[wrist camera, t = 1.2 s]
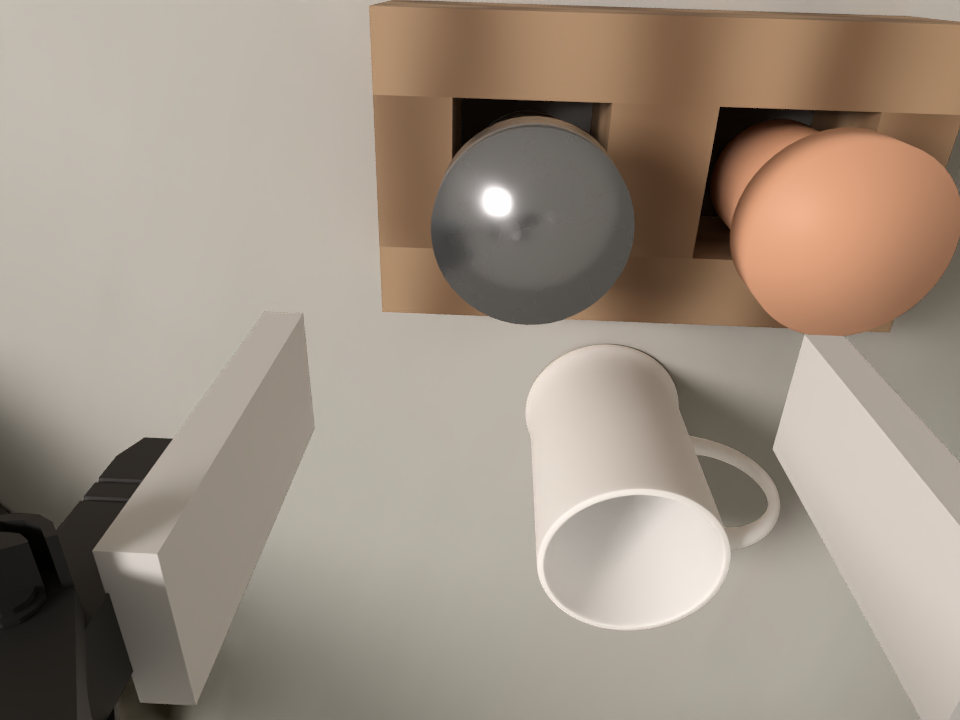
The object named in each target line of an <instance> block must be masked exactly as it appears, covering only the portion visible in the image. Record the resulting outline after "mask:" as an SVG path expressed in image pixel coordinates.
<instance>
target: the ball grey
mask: <svg viewBox="0 0 960 720" xmlns="http://www.w3.org/2000/svg"><path fill="white" fill-rule="evenodd" d="M634 227H635V221H634V210H633V205H632V200H631V197H630V194H629V191H628V189H627V186H626V184H625V182H624V180H623V178H622V177H621V175H620V173H619V171H618V169H617V167H616V165H615V164H614V162H613V160H612V158H611V157H610V156H609V154H608V153H607V151H606V150H605V149H604V148H603V147H602V146H601V145H600V144H599V143H598V142H597V140H595V139H594V138H593V137H592V136H590V135H589V134H588V133H586V132H585V131H583V130H582V129H580V128H578V127H576V126H574V125H572V124H570V123H567V122H564V121H562V120H560V119H558V118H556V117H554V116H553V115H550V114H548V113H545V112H540V111H534V110H522V111H516V112H512V113H509V114H506V115H504V116H502V117H500V118H498V119H497V120H495V121H494V122H492V123H491V124H490V125H489V126H488V127H487V128H486V129H484V130H483V131H481V132H479V133H478V134H476V135H475V136H474V137H472V138H471V139H470V140H469V141H468V142H467V143H465V144H464V146H463V147H462V148H461V149H460V150H459V151H458V152H457V153H456V155H455V156H454V158H453V159H452V161H451V162H450V164H449V165H448V167H447V169H446V171H445V173H444V176H443V178H442V181H441V184H440V187H439V190H438V193H437V196H436V199H435V202H434V207H433V212H432V217H431V240H432V246H433V251H434V255H435V258H436V261H437V263H438V266H439V268H440V270H441V272H442V274H443V276H444V278H445V279H446V281H447V282H448V283H449V285H450V286H451V288H452V289H453V290H454V291H455V292H456V293H457V294H458V295H459V296H460V297H461V298H462V299H463V300H464V301H465V302H467V303H468V304H469V305H470V306H472V307H473V308H475V309H476V310H478V311H480V312H482V313H484V314H486V315H488V316H490V317H493V318H495V319H498V320H501V321H505V322H510V323H515V324H525V325H533V324H545V323H552V322H556V321H559V320H563V319H566V318H568V317H571V316H574V315H576V314H578V313H579V312H581V311H583V310H585V309H587V308H588V307H590V306H591V305H592V304H594V303H595V302H597V301H598V300H599V299H600V298H601V297H602V296H603V295H605V294H606V293H607V291H608V290H609V289H610V288H611V287H612V286H613V285H614V283H615V282H616V280H617V279H618V277H619V276H620V274H621V273H622V271H623V269H624V267H625V265H626V263H627V260H628V258H629V255H630V252H631V248H632V244H633V239H634Z"/></svg>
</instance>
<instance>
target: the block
mask: <svg viewBox="0 0 960 720" xmlns="http://www.w3.org/2000/svg"><path fill="white" fill-rule="evenodd" d="M369 13H370V36H371V59H372V82H373V105H374V128H375V152H376V175H377V198H378V221H379V244H380V267H381V290H382V312H402V313H426V314H451V315H476V316H488V315H486V314H484V313H482V312H480V311H478V310H476V309H475V308H473V307H472V306H470V305H469V304H468V303H467V302H465V301H464V300H463V299H462V298H461V297H460V296H459V295H458V294H457V293H456V292H455V291H454V290H453V289H452V288H451V286H450V285H449V283H448V282H447V281H446V279H445V278H444V276H443V274H442V272H441V270H440V268H439V266H438V263H437V261H436V258H435V255H434V251H433V246H432V240H431V217H432V212H433V207H434V202H435V199H436V196H437V193H438V190H439V187H440V184H441V181H442V178H443V176H444V173H445V171H446V169H447V167H448V165H449V164H450V162H451V161H452V159H453V158H454V156H455V155H456V153H457V152H458V151H459V150H460V149H461V111H462V98H482V99H511V100H540V101H569V102H593V111H592V121H591V132H590V136H592V137H593V138H594V139H595V140H597V142H598V143H599V144H600V145H601V146H602V147H603V148H604V149H605V150H606V151H607V153H608V154H609V156H610V157H611V158H612V160H613V162H614V164H615V165H616V167H617V169H618V171H619V173H620V175H621V177H622V178H623V180H624V182H625V184H626V186H627V189H628V191H629V194H630V197H631V200H632V205H633V210H634V221H635V227H634V239H633V244H632V248H631V252H630V255H629V258H628V260H627V263H626V265H625V267H624V269H623V271H622V273H621V274H620V276H619V277H618V279H617V280H616V282H615V283H614V285H613V286H612V287H611V288H610V289H609V290H608V291H607V293H606V294H605V295H603V296H602V297H601V298H600V299H599V300H598V301H597V302H595V303H594V304H592V305H591V306H590V307H588V308H587V309H585V310H583V311H581V312H579V313H578V314H576V315H574V316H571V317H568V318H566V319H574V320H599V321H624V322H649V323H673V324H698V325H723V326H747V327H772V328H788V327H786V326H784V325H782V324H780V323H779V322H778V321H776V320H775V319H774V318H772V317H771V316H770V315H769V314H768V313H767V312H766V311H765V310H764V309H763V307H762V306H761V305H760V303H759V302H758V301H757V299H756V298H755V297H754V296H753V294H752V293H751V292H750V290H749V289H748V288H747V286H746V285H745V283H744V282H743V281H742V279H741V278H740V276H739V274H738V272H737V270H736V268H735V266H734V262H733V259H732V255H731V249H730V229H729V228H728V226H727V225H726V224H725V223H724V222H723V220H722V219H721V218H720V217H707V216H700V213H701V208H702V202H703V197H704V191H705V186H706V180H707V175H708V169H709V164H710V158H711V153H712V147H713V142H714V136H715V131H716V125H717V120H718V114H719V109H720V107H743V108H772V109H801V110H815V112H814V116H813V120H812V125H811V128H813V129H815V130H817V131H819V132H821V131H824V130H829V129H835V128H846V127H856V128H866V129H870V130H874V131H878V132H881V133H883V134H886V135H888V136H890V137H893V138H895V139H897V140H900V141H902V142H904V143H907V144H909V145H911V146H913V147H916V148H918V149H920V150H923V151H924V152H926V153H927V154H929V155H931V156H932V157H934V158H935V159H936V160H937V161H938V162H939V163H940V164H941V165H943V167H944V168H945V169H946V166H947V163H948V160H949V157H950V154H951V151H952V148H953V146H954V143H955V140H956V137H957V134H958V131H959V128H960V22H955V21H947V20H938V19H929V18H920V17H911V16H883V15H851V14H820V13H788V12H757V11H725V10H694V9H663V8H631V7H600V6H568V5H537V4H506V3H474V2H443V1H411V0H391V1H387V2H383V3H379V4H375V5H371V6H369ZM893 321H894V319H893V320H892V321H890V322H888V323H885V324H883V325H881V326H879V327H877V328H874V329H871V330H868V331H871V332H890V330H891V327H892V324H893Z"/></svg>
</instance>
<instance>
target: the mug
mask: <svg viewBox="0 0 960 720" xmlns="http://www.w3.org/2000/svg"><path fill="white" fill-rule="evenodd" d="M526 422H527V427H528V430H529V433H530V435H531V445H532V466H533V488H534V511H535V533H536V555H537V569H538V575H539V579H540V582H541V584H542V586H543V588H544V590H545V592H546V594H547V595H548V596H549V598H550V599H551V600H552V601H553V602H554V603H555V604H556V605H557V606H558V607H559V608H560V609H561V610H563V611H564V612H565V613H567V614H569V615H570V616H572V617H574V618H576V619H578V620H580V621H582V622H585V623H587V624H590V625H593V626H597V627H601V628H607V629H614V630H642V629H649V628H654V627H659V626H663V625H666V624H669V623H672V622H675V621H677V620H680V619H682V618H684V617H686V616H688V615H690V614H691V613H693V612H695V611H696V610H698V609H699V608H701V607H702V606H703V605H704V604H706V603H707V602H708V601H709V600H710V599H711V598H712V597H713V596H714V595H715V594H716V592H717V591H718V590H719V588H720V587H721V585H722V584H723V582H724V580H725V578H726V575H727V573H728V570H729V566H730V559H731V551H733V550H737V549H741V548H744V547H747V546H750V545H752V544H754V543H756V542H758V541H760V540H761V539H763V538H764V537H765V536H766V535H768V534H769V533H770V531H771V530H772V529H773V527H774V526H775V524H776V522H777V520H778V516H779V512H780V498H779V494H778V491H777V488H776V486H775V484H774V482H773V481H772V479H771V478H770V476H769V475H768V474H767V473H766V472H765V471H764V469H763V468H761V467H760V466H759V465H758V464H757V463H756V462H754V461H753V460H752V459H750V458H749V457H747V456H746V455H744V454H742V453H741V452H739V451H737V450H735V449H733V448H731V447H728V446H726V445H723V444H721V443H718V442H715V441H711V440H708V439H704V438H699V437H694V436H690V435H689V434H688V432H687V429H686V426H685V424H684V421H683V419H682V416H681V413H680V410H679V400H678V394H677V390H676V387H675V385H674V383H673V381H672V379H671V377H670V375H669V374H668V373H667V371H666V370H665V369H664V368H663V367H662V366H661V365H660V364H659V363H658V362H657V361H656V360H654V359H653V358H652V357H650V356H648V355H647V354H645V353H643V352H641V351H638V350H636V349H633V348H630V347H626V346H620V345H611V344H602V345H592V346H587V347H583V348H579V349H576V350H573V351H571V352H569V353H567V354H565V355H563V356H561V357H559V358H558V359H556V360H555V361H553V362H552V363H551V364H550V365H548V366H547V367H546V368H545V369H544V370H543V371H542V372H541V374H540V375H539V376H538V377H537V379H536V380H535V382H534V384H533V386H532V388H531V390H530V392H529V395H528V399H527V403H526ZM697 455H702V456H707V457H711V458H715V459H718V460H721V461H724V462H726V463H728V464H731V465H733V466H735V467H737V468H738V469H740V470H742V471H743V472H745V473H746V474H748V475H749V476H750V477H751V478H752V479H754V480H755V481H756V482H757V483H758V484H759V486H760V487H761V488H762V490H763V491H764V493H765V495H766V497H767V501H768V507H767V510H766V512H765V513H764V514H763V515H762V516H761V517H760V518H759V519H757V520H756V521H754V522H752V523H749V524H747V525H743V526H739V527H724V525H723V523H722V520H721V517H720V515H719V512H718V510H717V507H716V504H715V502H714V499H713V497H712V494H711V491H710V489H709V486H708V484H707V481H706V478H705V476H704V473H703V471H702V468H701V465H700V463H699V460H698V458H697Z"/></svg>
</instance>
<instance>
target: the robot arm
mask: <svg viewBox="0 0 960 720" xmlns="http://www.w3.org/2000/svg"><path fill="white" fill-rule="evenodd" d="M314 429H315V427H314V417H313V407H312V397H311V387H310V377H309V367H308V357H307V347H306V337H305V327H304V317H303V313H288V312H264V313H263V315H262V316H261V317H260V319H259V320H258V322H257V323H256V324H255V326H254V327H253V329H252V330H251V331H250V333H249V334H248V336H247V337H246V338H245V340H244V341H243V342H242V344H241V345H240V347H239V348H238V349H237V351H236V352H235V354H234V355H233V356H232V358H231V359H230V360H229V362H228V363H227V365H226V366H225V367H224V369H223V370H222V372H221V373H220V374H219V376H218V377H217V379H216V380H215V381H214V383H213V384H212V385H211V387H210V388H209V390H208V391H207V392H206V394H205V395H204V397H203V398H202V399H201V401H200V402H199V403H198V405H197V406H196V408H195V409H194V410H193V412H192V413H191V415H190V416H189V417H188V419H187V420H186V421H185V423H184V424H183V426H182V427H181V428H180V430H179V431H178V433H177V434H176V435H175V437H174V438H173V439H166V438H143V439H142V440H140V441H139V442H137V443H136V444H134V445H133V446H131V447H130V448H128V449H126V450H125V451H123V452H122V453H120V454H119V455H117V456H116V457H115V459H114V460H113V461H112V462H111V464H110V465H109V466H108V467H107V469H106V470H105V471H104V472H103V473H102V475H101V476H100V477H99V482H95V483H94V485H93V486H92V487H91V488H90V489H89V491H88V492H87V493H86V494H85V496H84V500H83V501H80V502H79V503H78V504H77V505H76V507H75V508H74V509H73V510H72V512H71V513H70V514H69V515H68V517H67V518H66V519H65V520H64V521H63V523H62V524H61V525H60V526H59V528H58V529H57V530H55V528H54V525H53V522H51V521H49V520H47V519H46V518H44V517H42V516H40V515H36V514H27V513H13V514H9V513H8V512H7V511H6V510H5V509H4V508H2V507H1V506H0V720H120V717H119V714H118V711H117V708H116V703H117V701H118V699H119V697H120V695H121V693H122V692H123V690H124V688H125V686H126V684H127V682H128V680H129V678H130V677H131V676H132V679H133V682H134V685H135V688H136V691H137V695H138V698H139V701H140V703H157V704H176V705H195V706H196V704H197V702H198V700H199V697H200V695H201V693H202V690H203V688H204V686H205V683H206V681H207V679H208V676H209V674H210V672H211V669H212V667H213V665H214V662H215V660H216V658H217V655H218V653H219V651H220V648H221V646H222V644H223V641H224V639H225V637H226V634H227V632H228V630H229V627H230V625H231V623H232V620H233V618H234V616H235V613H236V611H237V609H238V606H239V604H240V602H241V599H242V597H243V595H244V592H245V590H246V588H247V585H248V583H249V581H250V578H251V576H252V574H253V571H254V569H255V567H256V564H257V562H258V560H259V557H260V555H261V553H262V550H263V548H264V546H265V543H266V541H267V538H268V536H269V534H270V531H271V529H272V527H273V524H274V522H275V520H276V517H277V515H278V513H279V510H280V508H281V506H282V503H283V501H284V499H285V496H286V494H287V492H288V489H289V487H290V485H291V482H292V480H293V478H294V475H295V473H296V471H297V468H298V466H299V464H300V461H301V459H302V457H303V454H304V452H305V450H306V447H307V445H308V443H309V440H310V438H311V436H312V433H313V431H314ZM773 451H774V453H775V455H776V456H777V458H778V460H779V462H780V464H781V465H782V467H783V469H784V471H785V473H786V475H787V476H788V478H789V480H790V482H791V484H792V486H793V487H794V489H795V491H796V493H797V495H798V496H799V498H800V500H801V502H802V504H803V506H804V507H805V509H806V511H807V513H808V515H809V516H810V518H811V520H812V522H813V524H814V526H815V527H816V529H817V531H818V533H819V535H820V536H821V538H822V540H823V542H824V544H825V546H826V547H827V549H828V551H829V553H830V555H831V557H832V558H833V560H834V562H835V564H836V566H837V567H838V569H839V571H840V573H841V575H842V577H843V578H844V580H845V582H846V584H847V586H848V587H849V589H850V591H851V593H852V595H853V597H854V598H855V600H856V602H857V604H858V606H859V607H860V609H861V611H862V613H863V615H864V617H865V618H866V620H867V622H868V624H869V626H870V627H871V629H872V631H873V633H874V635H875V637H876V638H877V640H878V642H879V644H880V646H881V648H882V649H883V651H884V653H885V655H886V657H887V658H888V660H889V662H890V664H891V666H892V668H893V669H894V671H895V673H896V675H897V677H898V678H899V680H900V682H901V684H902V686H903V688H904V689H905V691H906V693H907V695H908V697H909V698H910V700H911V702H912V704H913V706H914V708H915V709H916V711H917V713H918V715H919V717H920V718H921V720H960V462H959V461H958V460H957V459H956V458H955V457H954V456H953V455H952V454H951V453H950V451H949V450H948V449H947V448H946V447H945V446H944V445H943V444H942V443H941V442H940V440H939V439H938V438H937V437H936V436H935V435H934V434H933V433H932V432H931V431H930V430H929V428H928V427H927V426H926V425H925V424H924V423H923V422H922V421H921V420H920V419H919V418H918V416H917V415H916V414H915V413H914V412H913V411H912V410H911V409H910V408H909V407H908V406H907V404H906V403H905V402H904V401H903V400H902V399H901V398H900V397H899V396H898V395H897V394H896V392H895V391H894V390H893V389H892V388H891V387H890V386H889V385H888V384H887V383H886V382H885V380H884V379H883V378H882V377H881V376H880V375H879V374H878V373H877V372H876V371H875V369H874V368H873V367H872V366H871V365H870V364H869V363H868V362H867V361H866V360H865V359H864V357H863V356H862V355H861V354H860V353H859V352H858V351H857V350H856V349H855V348H854V347H853V345H852V344H851V343H850V342H849V341H848V340H847V339H846V338H845V337H844V336H829V335H804V338H803V342H802V346H801V349H800V353H799V356H798V360H797V363H796V367H795V370H794V374H793V378H792V381H791V385H790V388H789V392H788V395H787V399H786V403H785V406H784V410H783V413H782V417H781V420H780V424H779V428H778V431H777V435H776V438H775V442H774V445H773Z"/></svg>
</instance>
